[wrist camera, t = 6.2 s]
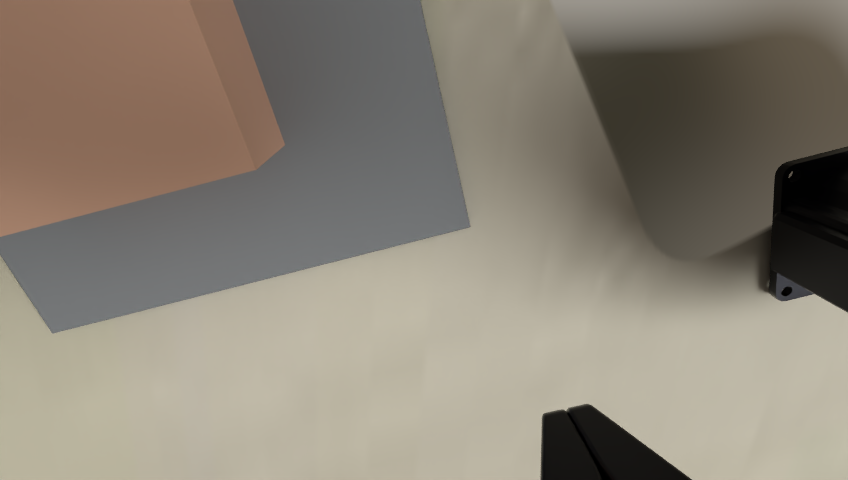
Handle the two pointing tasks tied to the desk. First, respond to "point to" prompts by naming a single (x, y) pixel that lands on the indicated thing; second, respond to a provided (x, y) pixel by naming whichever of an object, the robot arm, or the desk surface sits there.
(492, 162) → the desk surface
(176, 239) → the rubber mat
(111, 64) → the terracotta block
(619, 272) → the desk surface
